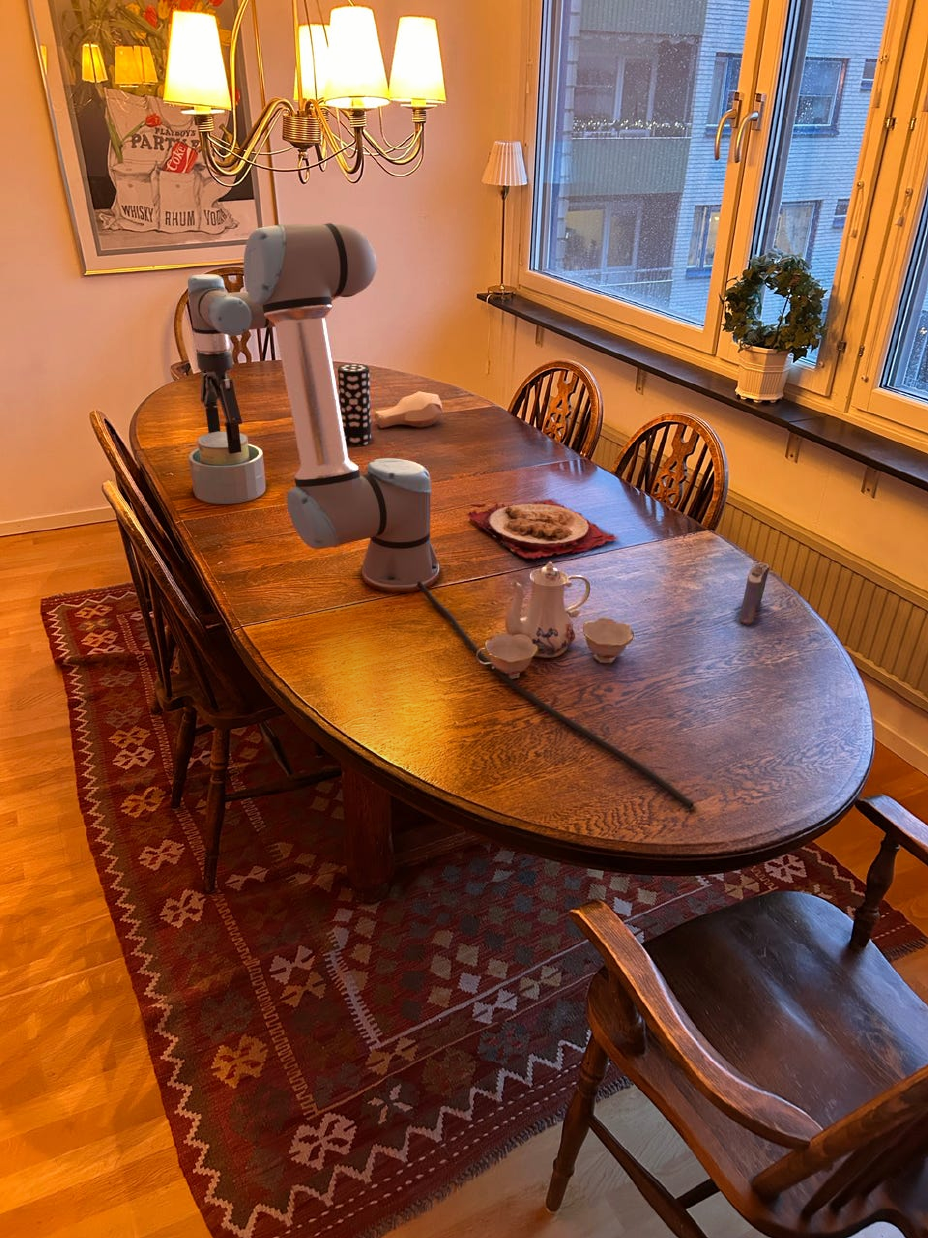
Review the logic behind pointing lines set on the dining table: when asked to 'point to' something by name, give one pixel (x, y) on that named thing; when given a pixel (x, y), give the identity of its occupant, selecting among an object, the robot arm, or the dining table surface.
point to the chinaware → (550, 626)
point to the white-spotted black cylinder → (355, 403)
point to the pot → (228, 479)
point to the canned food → (221, 450)
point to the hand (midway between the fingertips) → (224, 443)
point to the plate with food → (540, 528)
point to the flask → (753, 592)
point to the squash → (412, 411)
